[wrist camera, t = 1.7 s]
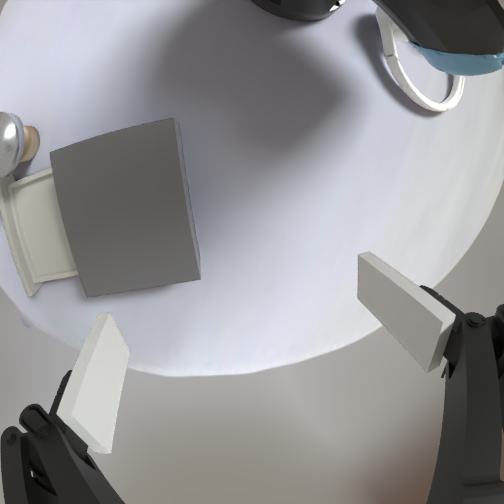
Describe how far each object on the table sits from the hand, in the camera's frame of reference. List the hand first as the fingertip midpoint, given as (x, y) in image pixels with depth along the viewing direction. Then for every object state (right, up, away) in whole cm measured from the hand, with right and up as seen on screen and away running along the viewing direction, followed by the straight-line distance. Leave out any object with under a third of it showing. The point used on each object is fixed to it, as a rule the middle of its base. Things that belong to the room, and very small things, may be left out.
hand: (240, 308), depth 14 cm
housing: (-14, +9, +19) cm, 25 cm away
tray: (-26, +7, +17) cm, 31 cm away
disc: (-29, +15, +7) cm, 33 cm away
